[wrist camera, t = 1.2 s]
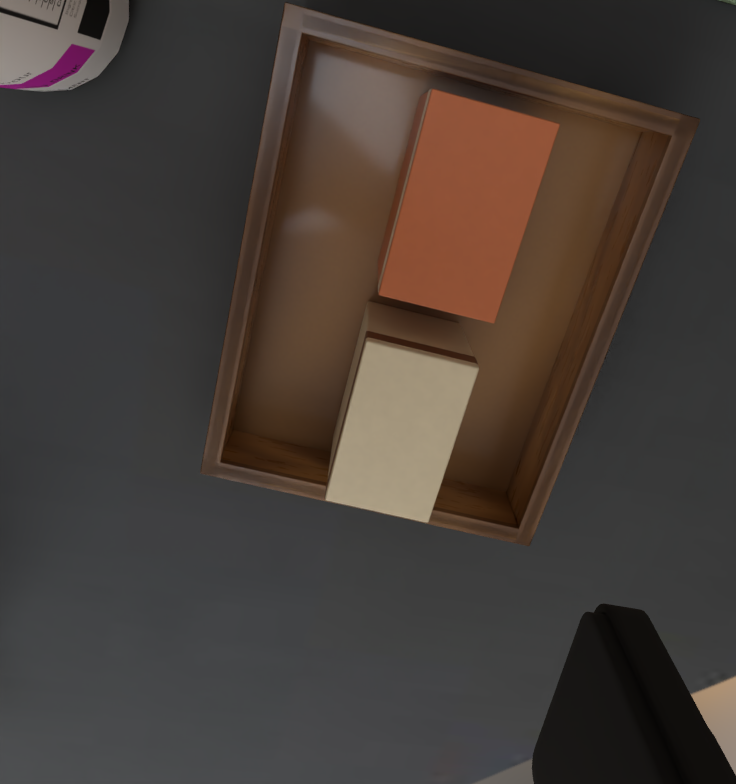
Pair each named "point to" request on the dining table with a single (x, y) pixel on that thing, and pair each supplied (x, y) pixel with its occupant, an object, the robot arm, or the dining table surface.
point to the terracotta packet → (462, 204)
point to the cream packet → (400, 412)
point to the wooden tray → (360, 284)
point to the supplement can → (58, 41)
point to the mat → (729, 1)
